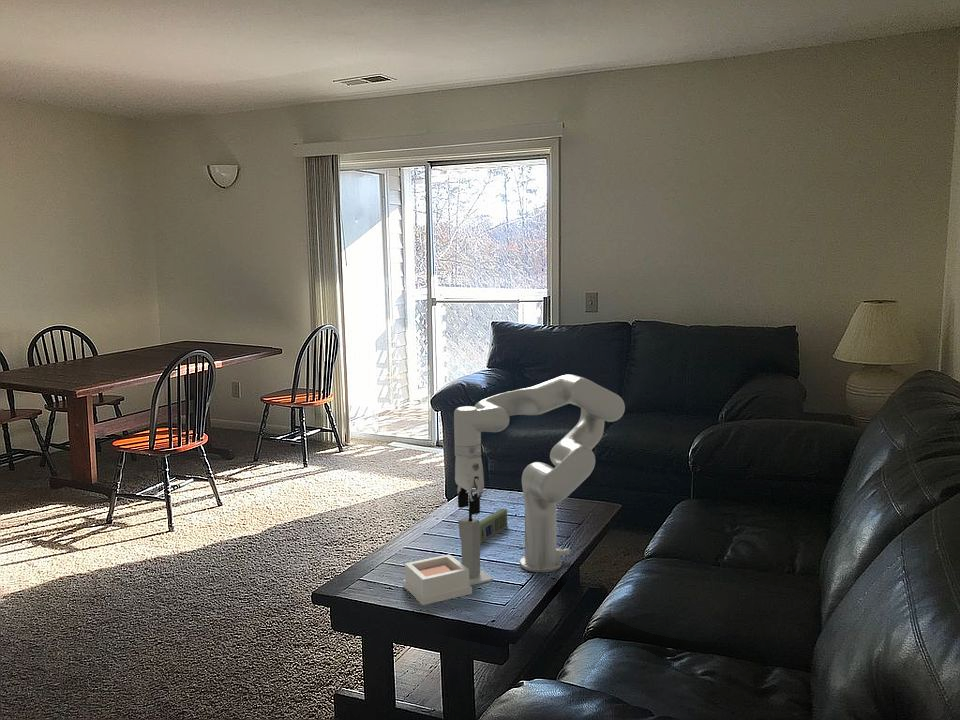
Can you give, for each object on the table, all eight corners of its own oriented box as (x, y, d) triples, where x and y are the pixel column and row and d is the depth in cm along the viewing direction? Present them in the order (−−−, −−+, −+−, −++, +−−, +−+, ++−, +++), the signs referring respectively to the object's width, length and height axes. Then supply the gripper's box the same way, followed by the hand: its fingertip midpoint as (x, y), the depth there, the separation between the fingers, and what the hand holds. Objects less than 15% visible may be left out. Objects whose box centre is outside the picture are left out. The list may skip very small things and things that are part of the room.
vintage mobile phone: (466, 571, 238) (465, 489, 235) (480, 574, 236) (479, 492, 232) (459, 575, 235) (457, 492, 232) (473, 579, 232) (471, 495, 229)
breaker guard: (450, 576, 236) (449, 553, 235) (471, 593, 224) (471, 569, 223) (403, 586, 230) (402, 563, 229) (422, 605, 217) (421, 580, 216)
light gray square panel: (477, 568, 242) (477, 566, 242) (493, 580, 233) (493, 578, 233) (447, 575, 237) (447, 573, 237) (462, 587, 228) (462, 585, 228)
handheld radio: (509, 527, 277) (472, 551, 256) (501, 526, 279) (463, 550, 258) (508, 509, 277) (471, 531, 255) (500, 507, 278) (462, 529, 257)
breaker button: (444, 575, 231) (444, 565, 231) (455, 583, 225) (454, 573, 225) (418, 580, 228) (418, 570, 227) (428, 589, 222) (428, 579, 221)
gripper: (493, 454, 224) (494, 516, 226) (466, 442, 239) (467, 500, 241) (469, 458, 220) (470, 521, 223) (443, 445, 236) (444, 504, 238)
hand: (468, 509), depth 232 cm, fingers open, 6 cm apart
